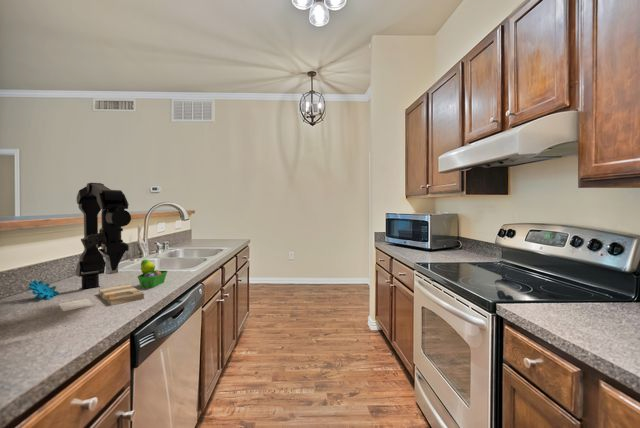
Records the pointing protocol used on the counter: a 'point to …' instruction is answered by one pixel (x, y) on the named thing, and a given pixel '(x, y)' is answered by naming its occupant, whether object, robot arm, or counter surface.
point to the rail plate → (120, 294)
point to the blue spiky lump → (42, 290)
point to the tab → (75, 304)
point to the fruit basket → (150, 275)
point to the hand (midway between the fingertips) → (112, 269)
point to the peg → (108, 266)
